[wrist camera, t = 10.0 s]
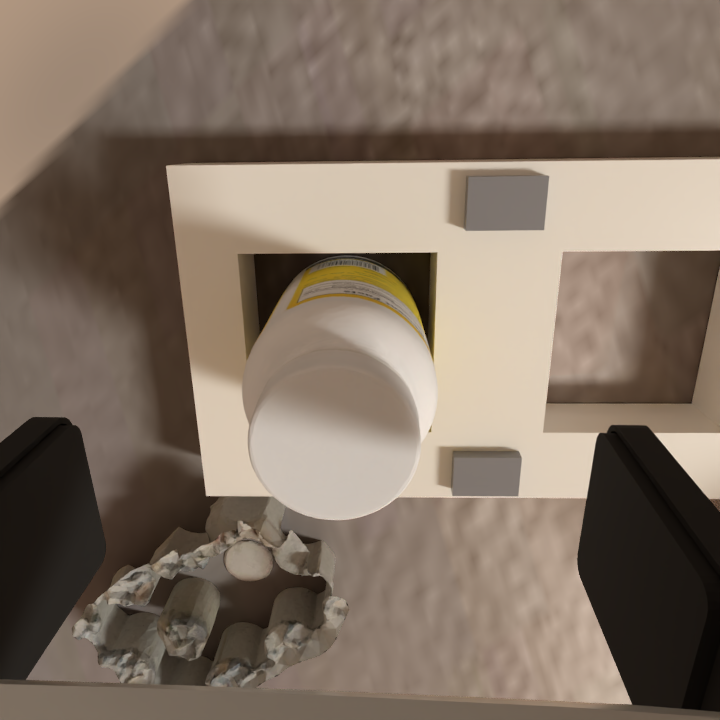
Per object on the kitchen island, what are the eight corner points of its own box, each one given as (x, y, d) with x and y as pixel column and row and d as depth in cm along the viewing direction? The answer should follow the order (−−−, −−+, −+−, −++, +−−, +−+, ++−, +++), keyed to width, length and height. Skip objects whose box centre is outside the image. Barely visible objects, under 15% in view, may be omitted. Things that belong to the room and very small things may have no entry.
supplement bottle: (341, 413, 24) (319, 583, 14) (249, 313, 22) (161, 431, 13) (448, 332, 22) (499, 464, 13) (358, 221, 21) (344, 282, 12)
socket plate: (190, 162, 20) (160, 166, 18) (802, 155, 20) (872, 158, 17) (222, 462, 25) (202, 503, 22) (728, 464, 24) (774, 507, 21)
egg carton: (262, 460, 25) (242, 517, 21) (364, 577, 27) (363, 648, 23) (86, 575, 27) (38, 646, 23) (192, 675, 29) (164, 755, 25)
